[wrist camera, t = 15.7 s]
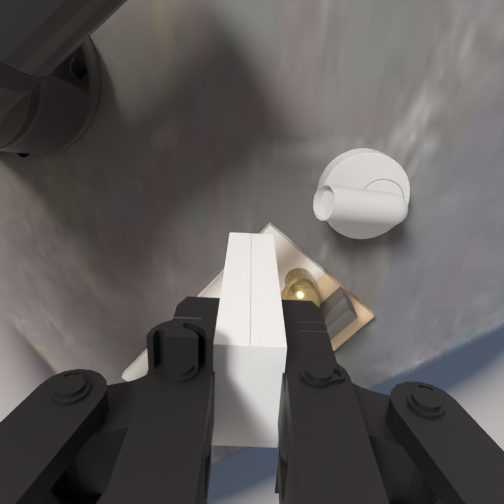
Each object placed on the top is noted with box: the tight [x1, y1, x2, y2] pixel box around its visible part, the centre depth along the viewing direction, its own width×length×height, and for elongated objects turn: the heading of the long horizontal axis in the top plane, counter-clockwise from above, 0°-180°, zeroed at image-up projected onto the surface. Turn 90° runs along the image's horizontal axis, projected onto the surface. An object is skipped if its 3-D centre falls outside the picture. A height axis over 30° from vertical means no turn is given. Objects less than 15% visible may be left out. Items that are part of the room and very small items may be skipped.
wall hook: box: [313, 148, 410, 239], centre depth 40 cm, size 9×10×10 cm
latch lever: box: [280, 268, 320, 307], centre depth 45 cm, size 15×4×5 cm, turn 148°
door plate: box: [121, 222, 375, 382], centre depth 48 cm, size 16×26×6 cm, turn 138°
